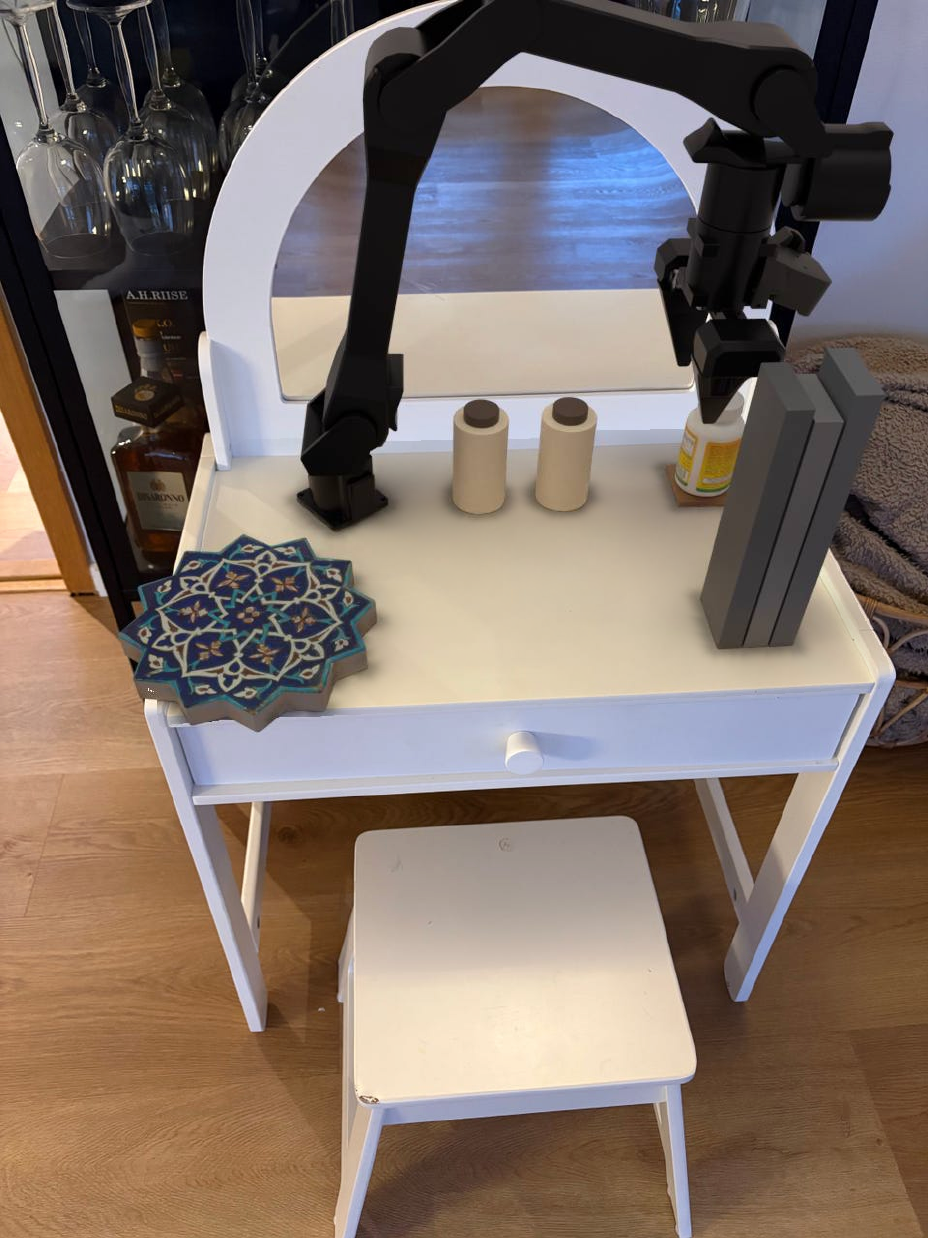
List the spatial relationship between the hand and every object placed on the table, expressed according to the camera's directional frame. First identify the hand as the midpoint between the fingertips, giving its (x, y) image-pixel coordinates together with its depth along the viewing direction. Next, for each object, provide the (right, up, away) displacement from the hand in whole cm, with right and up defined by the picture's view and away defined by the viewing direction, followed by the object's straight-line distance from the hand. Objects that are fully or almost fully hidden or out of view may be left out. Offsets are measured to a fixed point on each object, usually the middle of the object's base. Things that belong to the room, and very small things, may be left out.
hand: (695, 393), depth 87 cm
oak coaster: (+3, -7, +9) cm, 12 cm away
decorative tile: (-38, -21, -6) cm, 44 cm away
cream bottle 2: (-11, -8, +8) cm, 16 cm away
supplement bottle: (+3, -7, +9) cm, 12 cm away
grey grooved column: (+3, -20, -4) cm, 21 cm away
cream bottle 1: (-19, -8, +8) cm, 22 cm away
